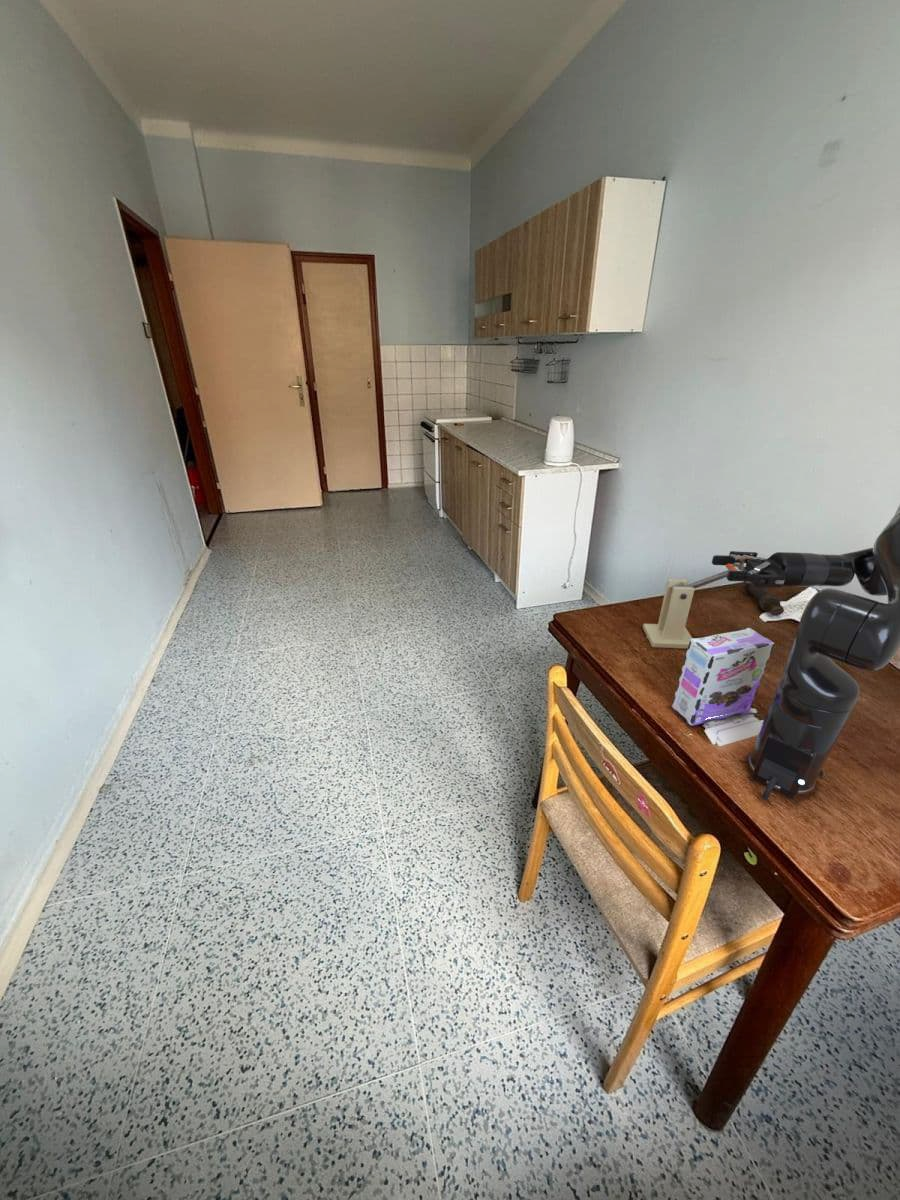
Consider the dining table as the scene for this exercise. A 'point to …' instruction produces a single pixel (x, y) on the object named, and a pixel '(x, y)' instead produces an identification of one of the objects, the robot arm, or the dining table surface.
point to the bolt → (764, 598)
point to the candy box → (721, 675)
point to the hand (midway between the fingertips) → (720, 567)
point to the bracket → (672, 618)
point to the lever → (709, 579)
